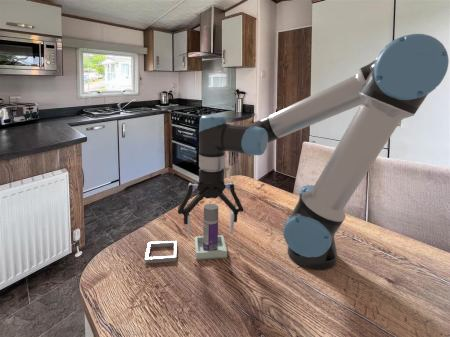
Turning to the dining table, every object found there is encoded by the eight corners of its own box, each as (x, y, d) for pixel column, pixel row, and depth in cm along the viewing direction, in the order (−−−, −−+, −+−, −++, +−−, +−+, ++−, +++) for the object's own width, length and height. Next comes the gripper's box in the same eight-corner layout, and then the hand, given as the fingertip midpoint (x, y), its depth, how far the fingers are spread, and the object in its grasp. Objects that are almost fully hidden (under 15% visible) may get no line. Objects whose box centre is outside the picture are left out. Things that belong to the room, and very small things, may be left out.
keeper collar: (176, 244, 94) (176, 240, 94) (176, 261, 86) (176, 257, 85) (148, 246, 93) (148, 242, 92) (145, 263, 84) (144, 259, 84)
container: (218, 245, 94) (219, 204, 89) (216, 253, 89) (217, 210, 85) (204, 244, 94) (204, 203, 90) (201, 252, 90) (202, 209, 85)
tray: (222, 241, 97) (222, 235, 96) (226, 258, 88) (227, 251, 87) (194, 243, 96) (194, 236, 95) (196, 260, 87) (196, 252, 86)
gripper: (249, 164, 89) (246, 224, 95) (169, 165, 85) (171, 227, 92) (255, 171, 82) (251, 236, 88) (168, 172, 78) (170, 240, 84)
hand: (210, 231), depth 90 cm, fingers open, 13 cm apart
